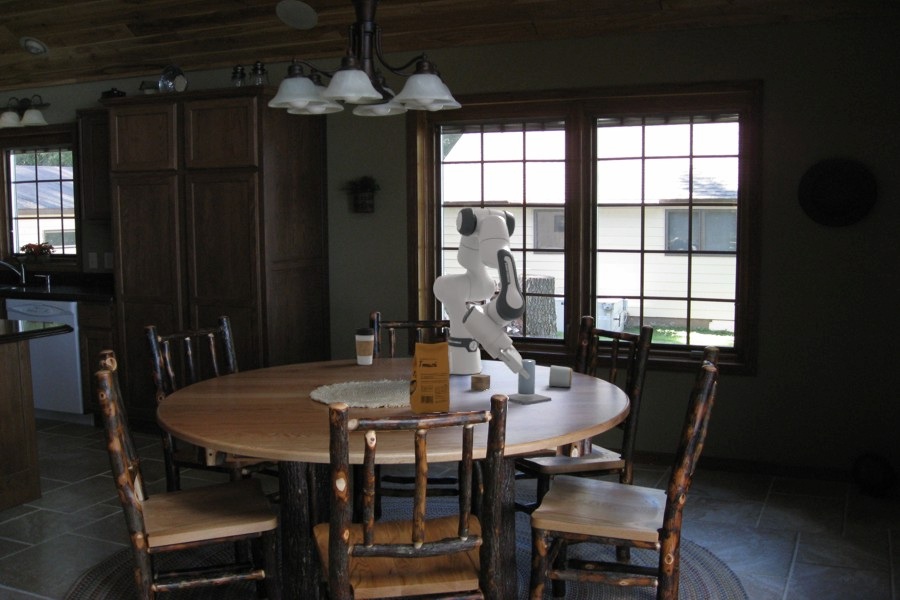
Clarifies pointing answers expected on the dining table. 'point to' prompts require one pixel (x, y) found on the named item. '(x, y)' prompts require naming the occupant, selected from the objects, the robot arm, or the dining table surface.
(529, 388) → the blue-grey tall cylinder
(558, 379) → the grey rounded block
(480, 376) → the walnut block
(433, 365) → the coffee package
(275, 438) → the dining table surface
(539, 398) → the pad
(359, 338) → the coffee cup
